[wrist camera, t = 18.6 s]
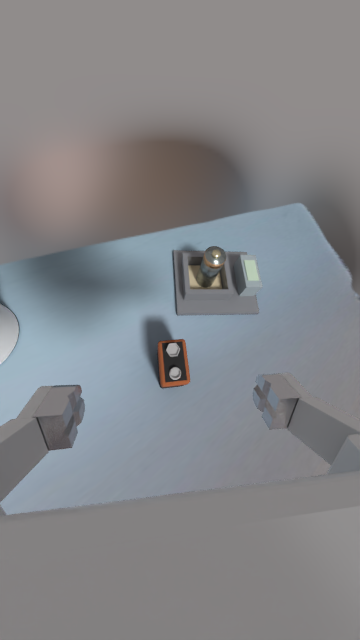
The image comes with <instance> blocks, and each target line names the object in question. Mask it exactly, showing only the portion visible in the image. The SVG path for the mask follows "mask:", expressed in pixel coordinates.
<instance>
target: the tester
mask: <svg viewBox="0 0 360 640" xmlns="http://www.w3.org/2000/svg"><path fill="white" fill-rule="evenodd" d="M225 253H226V261H225V263H224V264H223V266H222V268H221V269H220V271H219V273H218V275H217V277H216V279H215V281H214V282H213V284H212V285H211V286H210V287H207V288H204V287H201V286H200V285H198V283H197V281H196V276H197V274H198V271H199V268H200V265H201V263H202V260H203V256H204V254H205V251H176V250H174V253H173V255H174V271H175V288H176V305H177V315H234V314H258V313H259V308H258V303H257V299H256V293H257V292H258V291H259V290H260V289H261V288H262V282H261V278H260V273H259V269H258V265H257V260H256V256H255V255H247V252H225Z"/></svg>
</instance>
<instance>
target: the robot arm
mask: <svg viewBox="0 0 360 640" xmlns="http://www.w3.org/2000/svg"><path fill="white" fill-rule="evenodd" d="M18 334H19V326H18V322H17V319H16V317H15V315H14V314H13V313H12V312H11V311H10V310H9V309H8V308H6V307H5V306H3V305H2V304H0V364H1V363H2V362H3V361H4V360H5V359H6V358H7V357H8V356H9V355H10V353H11V352H12V350H13V349H14V347H15V345H16V342H17V339H18ZM256 383H257V384H258V385H257V386H256V387H255V388H254V390H253V400H254V403H255V405H256V407H257V409H258V410H260V411H261V412H263V414H262V418H263V419H264V421H265V423H266V425H267V426H268V428H269V430H272V429H287V430H289V431H290V432H291V433H292V434H293V435H295V436H296V437H297V438H298V439H300V440H301V441H302V442H303V443H304V444H306V445H307V446H308V447H309V448H311V449H312V450H313V451H314V452H315V453H317V454H318V455H319V456H320V457H322V458H323V459H324V460H325V461H326V462H328V463H329V464H330V465H331V467H330V468H329V470H328V472H327V474H326V475H318V476H311V477H303V478H295V479H287V480H279V481H271V482H263V483H255V484H247V485H240V486H232V487H224V488H216V489H208V490H200V491H192V492H185V493H177V494H169V495H161V496H153V497H146V498H138V499H130V500H122V501H114V502H106V503H98V504H90V505H83V506H75V507H67V508H59V509H51V510H43V511H35V512H27V513H20V514H12V515H6V513H5V511H4V510H3V508H2V507H1V505H0V640H360V419H358V418H356V417H354V416H352V415H350V414H348V413H346V412H344V411H342V410H340V409H338V408H336V407H335V406H333V405H331V404H329V403H327V402H325V401H323V400H321V399H319V398H317V397H312V396H311V395H310V393H309V392H308V391H307V390H306V389H305V388H304V387H303V386H302V385H301V384H300V383H299V382H298V381H297V380H296V379H295V378H294V377H293V376H292V375H291V374H290V373H278V374H263V375H258V376H257V377H256ZM81 393H82V390H81V386H80V385H56V386H41V387H39V388H38V389H37V390H36V392H35V393H34V395H33V396H32V397H31V399H30V400H29V401H28V403H27V404H26V406H25V407H24V408H23V410H22V411H21V413H20V414H19V415H18V417H17V418H16V419H11V420H10V421H8V422H7V423H5V424H4V425H2V426H0V502H1V501H2V500H3V499H4V498H5V497H6V496H7V495H8V494H9V493H10V492H11V491H12V490H13V489H14V488H15V487H16V485H17V484H18V483H19V482H20V481H21V480H22V479H23V478H24V477H25V476H26V475H27V474H28V473H29V472H30V471H31V470H32V469H33V468H34V467H35V466H36V465H37V464H38V463H39V461H40V460H41V459H42V458H43V457H44V456H45V455H46V454H47V453H48V452H49V451H50V450H58V449H66V448H72V446H73V444H74V441H75V438H76V436H77V433H78V431H77V426H78V425H79V424H80V423H81V422H82V419H83V416H84V410H85V404H84V399H82V398H81V397H80V395H81Z"/></svg>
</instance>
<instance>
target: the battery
mask: <svg viewBox="0 0 360 640" xmlns="http://www.w3.org/2000/svg"><path fill="white" fill-rule="evenodd" d="M157 355H158V368H159V381H160V387H161V388H170V387H178V386H183V385H186V384H188V383H189V382H190V375H189V367H188V359H187V351H186V343H185V340H183V339H179V340H167V341H159V342H158V353H157Z"/></svg>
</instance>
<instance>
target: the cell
mask: <svg viewBox="0 0 360 640" xmlns="http://www.w3.org/2000/svg"><path fill="white" fill-rule="evenodd" d="M225 261H226V253H225V252H224V250H223V249H221V248H219V247H216V246H212V247H209V248H208V249H206V251H205V254H204V256H203V260H202V263H201V265H200V268H199V271H198V274H197V276H196V281H197V283H198V285H200V286H201V287H204V288H207V287H210V286H211V285H212V284H213V282H214V281H215V279H216V277H217V275H218V273H219V271H220V269H221V268H222V266H223V264H224V263H225Z"/></svg>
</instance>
